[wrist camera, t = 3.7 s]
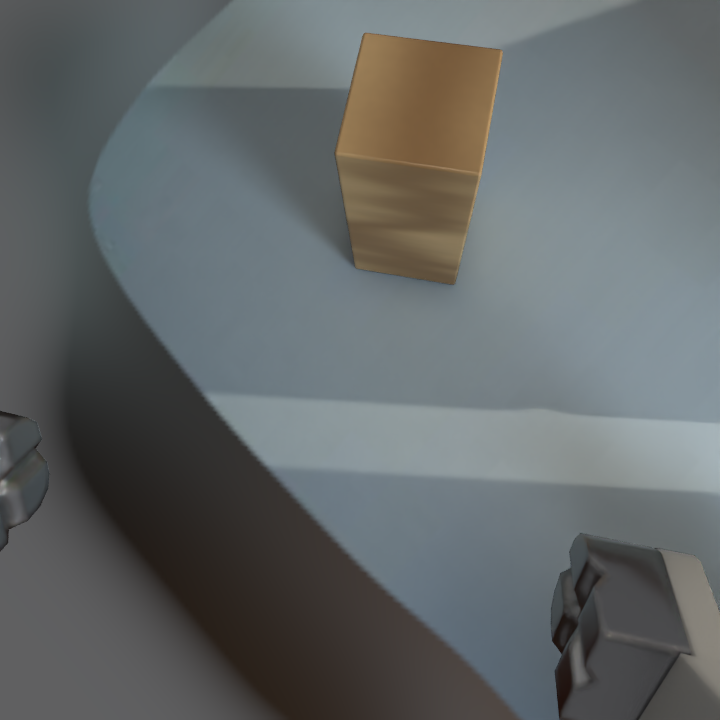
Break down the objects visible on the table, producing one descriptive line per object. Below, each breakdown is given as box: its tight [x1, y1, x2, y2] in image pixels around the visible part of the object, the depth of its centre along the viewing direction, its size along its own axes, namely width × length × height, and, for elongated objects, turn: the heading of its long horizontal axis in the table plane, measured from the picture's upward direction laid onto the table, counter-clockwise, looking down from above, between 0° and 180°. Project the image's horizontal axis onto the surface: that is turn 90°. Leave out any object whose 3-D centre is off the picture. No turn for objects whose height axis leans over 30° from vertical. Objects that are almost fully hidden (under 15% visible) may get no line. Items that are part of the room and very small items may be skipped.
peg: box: [334, 33, 503, 285], centre depth 21 cm, size 4×4×8 cm
